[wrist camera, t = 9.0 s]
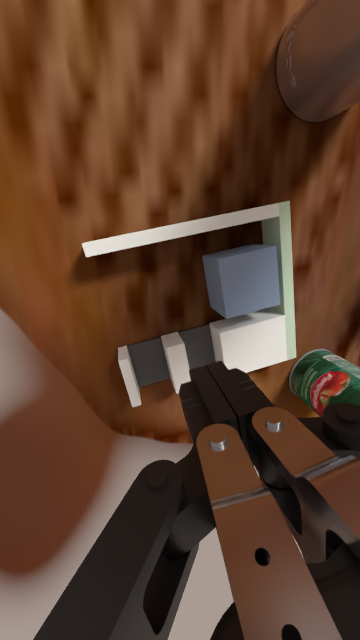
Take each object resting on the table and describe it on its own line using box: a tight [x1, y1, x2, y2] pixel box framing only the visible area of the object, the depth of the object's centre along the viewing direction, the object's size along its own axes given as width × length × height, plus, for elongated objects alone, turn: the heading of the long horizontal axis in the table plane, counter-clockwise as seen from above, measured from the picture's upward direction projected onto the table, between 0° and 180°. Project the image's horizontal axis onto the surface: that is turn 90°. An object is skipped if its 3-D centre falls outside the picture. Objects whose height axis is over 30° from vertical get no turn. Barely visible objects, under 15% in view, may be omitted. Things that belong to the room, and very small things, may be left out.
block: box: [202, 244, 280, 319], centre depth 28 cm, size 6×6×5 cm
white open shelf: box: [82, 201, 296, 407], centre depth 29 cm, size 20×18×4 cm
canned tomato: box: [289, 349, 360, 417], centre depth 33 cm, size 8×8×11 cm
